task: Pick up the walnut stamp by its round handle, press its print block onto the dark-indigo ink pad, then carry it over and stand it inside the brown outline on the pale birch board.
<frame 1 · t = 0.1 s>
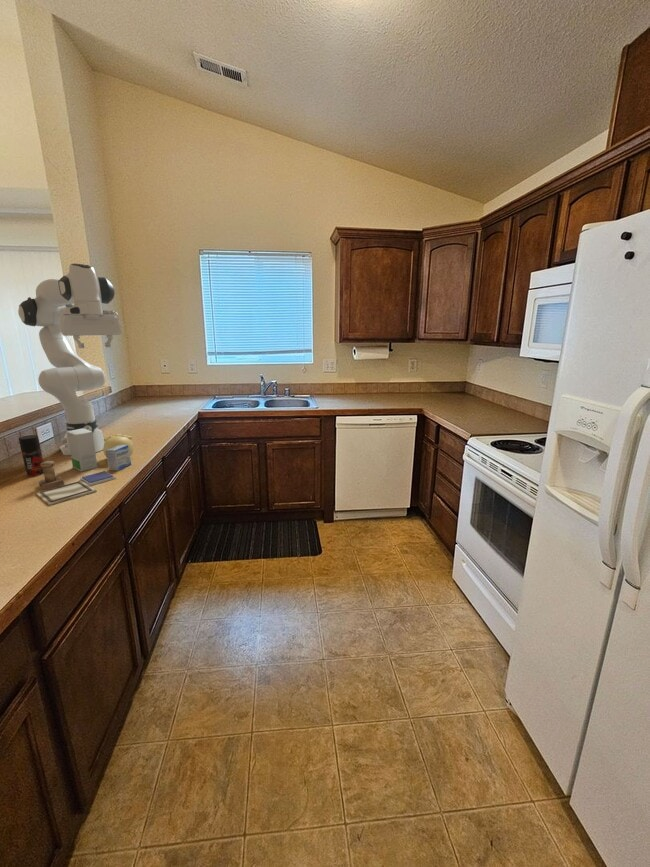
hand: (95, 347, 147), 48 cm above the countertop, fingers open, 8 cm apart
ink pad: (98, 479, 144), on the countertop
medicine box: (120, 467, 157), on the countertop
deodorant: (36, 474, 151), on the countertop
sculpture: (120, 458, 168), on the countertop
skincare box: (86, 468, 157), on the countertop
stamp: (52, 485, 139), on the countertop
marked board: (66, 493, 132), on the countertop
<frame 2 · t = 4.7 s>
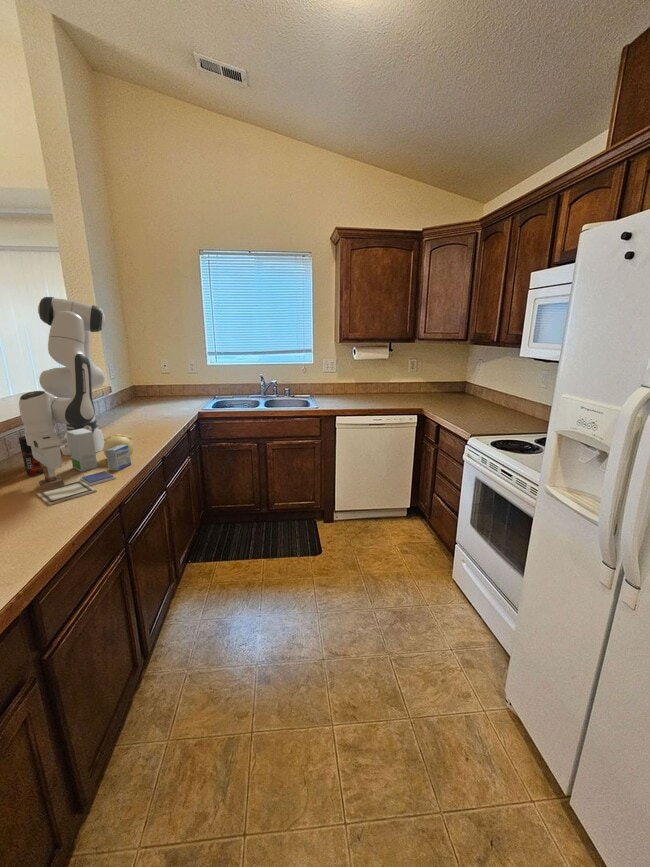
hand: (49, 474, 138), 4 cm above the countertop, fingers closed on stamp, 3 cm apart
stamp: (51, 485, 139), on the countertop, touching gripper
everything else where it was.
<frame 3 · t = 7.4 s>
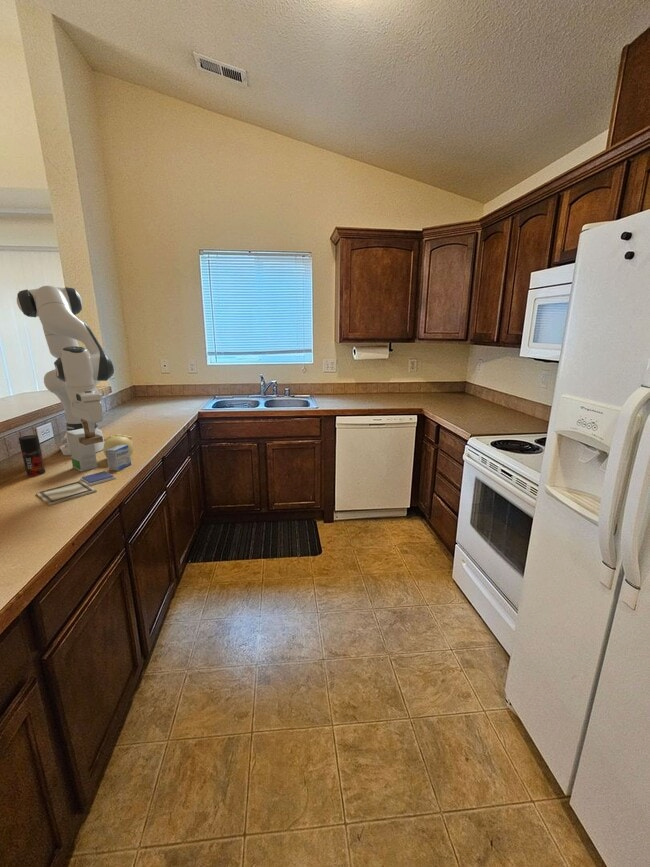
hand: (89, 431, 139), 19 cm above the countertop, fingers closed on stamp, 3 cm apart
stamp: (91, 441, 140), point 15 cm above the countertop, touching gripper
everything else where it was.
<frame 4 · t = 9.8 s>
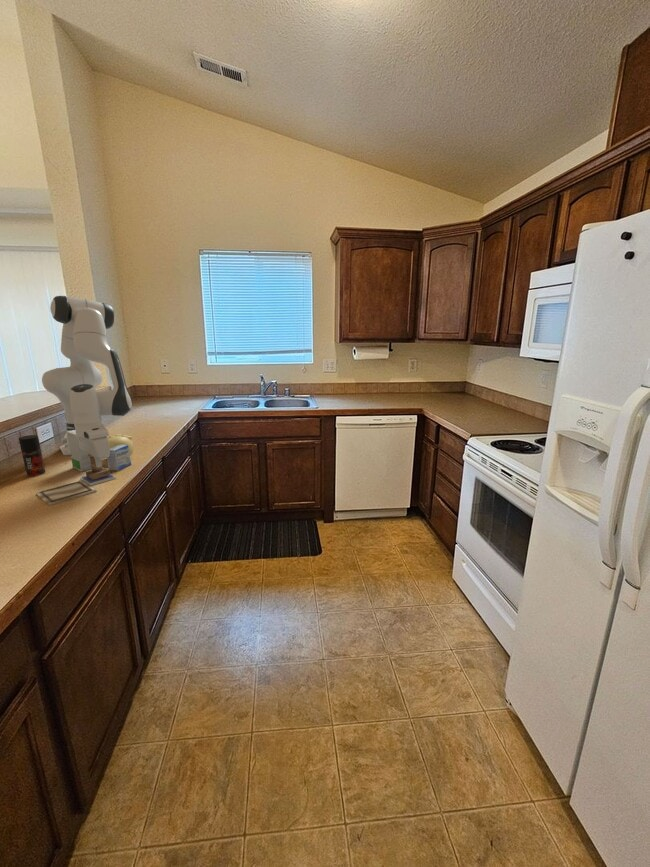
hand: (96, 465, 143), 6 cm above the countertop, fingers closed on stamp, 3 cm apart
stamp: (98, 475, 144), point 1 cm above the countertop, touching gripper
everything else where it was.
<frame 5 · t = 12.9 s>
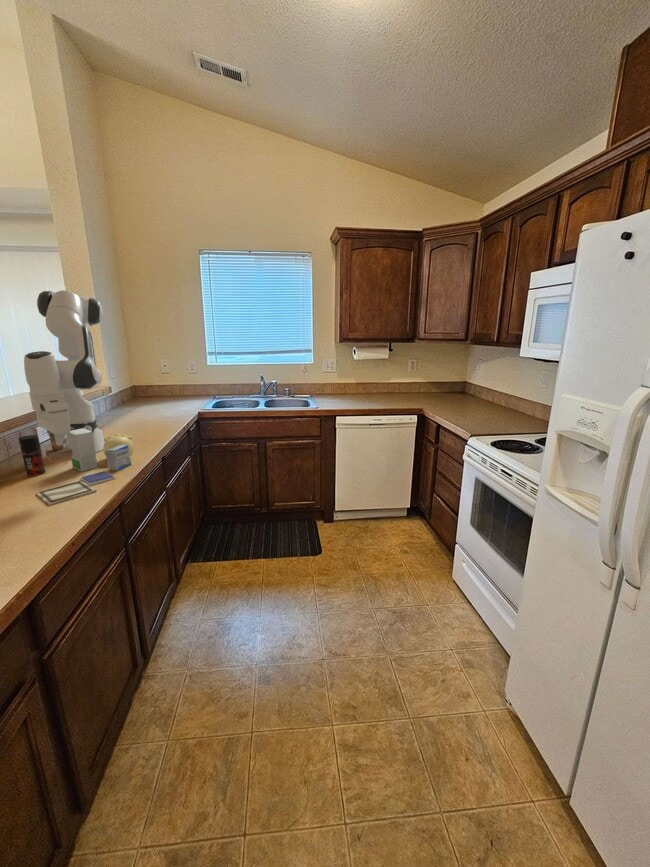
hand: (57, 443, 128), 18 cm above the countertop, fingers closed on stamp, 3 cm apart
stamp: (59, 455, 129), point 14 cm above the countertop, touching gripper
everything else where it was.
when the fingers open (6 cm above the countertop, at t = 15.2 s): stamp stays where it is, resting on marked board.
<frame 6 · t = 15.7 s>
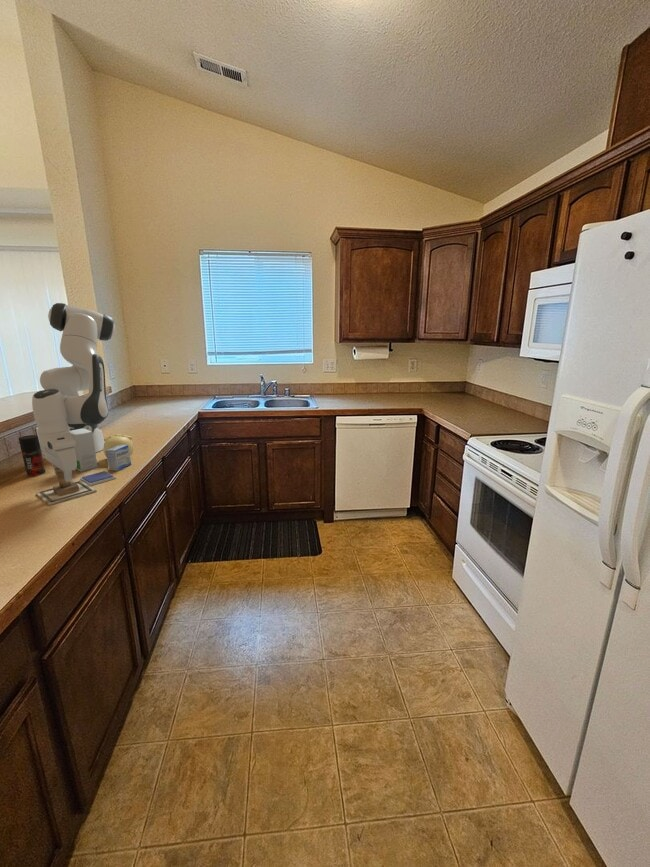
hand: (63, 477, 131), 6 cm above the countertop, fingers open, 8 cm apart
stamp: (66, 491, 132), point 1 cm above the countertop, touching marked board
everything else where it was.
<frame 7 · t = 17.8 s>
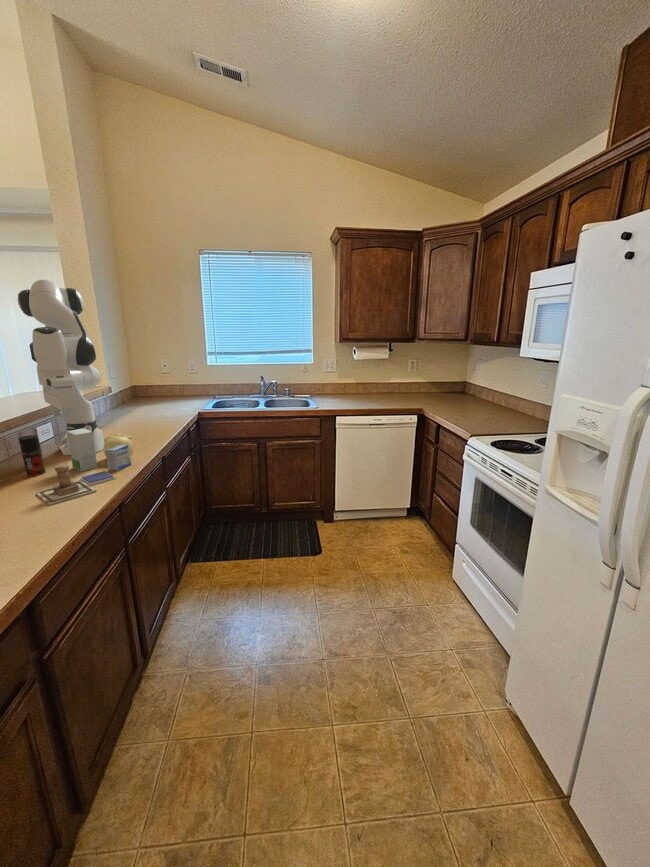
hand: (61, 419, 130), 25 cm above the countertop, fingers open, 8 cm apart
nothing on the countertop moved.
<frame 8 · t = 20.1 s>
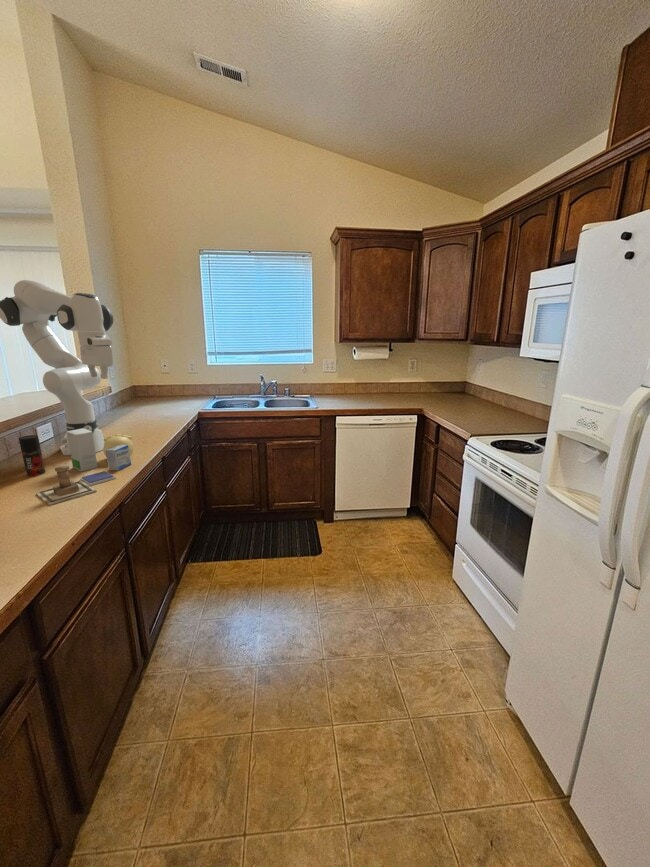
hand: (99, 377, 143), 37 cm above the countertop, fingers open, 8 cm apart
nothing on the countertop moved.
at the end: stamp inside the target area on the marked board (0.1 cm from its centre), point 0.6 cm above the marked board's base; stamp tilted 0°; the gripper is holding nothing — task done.
